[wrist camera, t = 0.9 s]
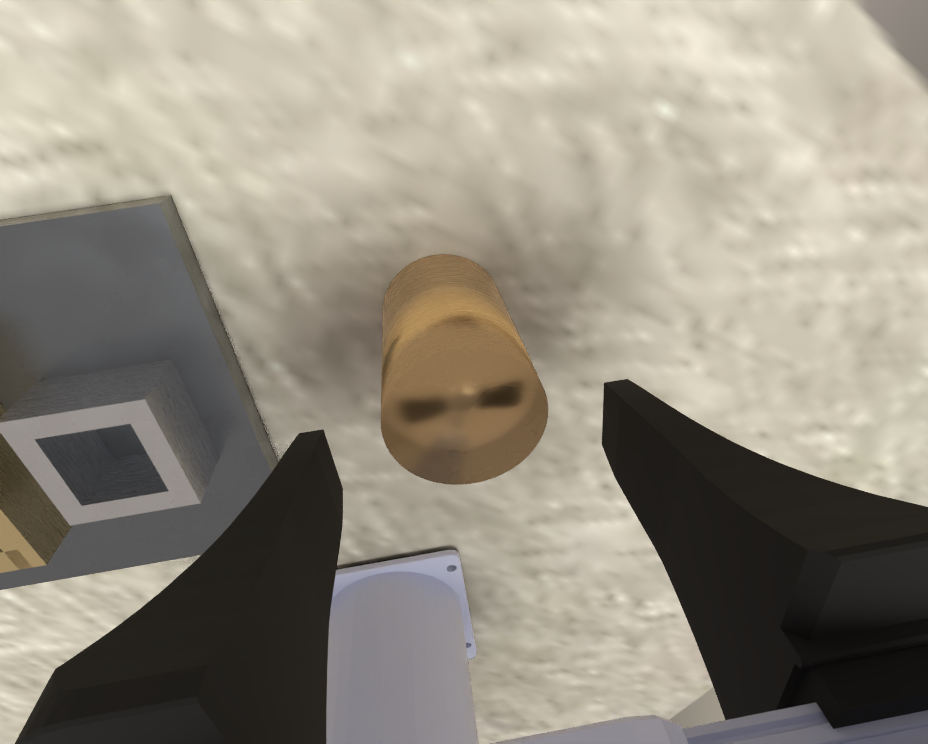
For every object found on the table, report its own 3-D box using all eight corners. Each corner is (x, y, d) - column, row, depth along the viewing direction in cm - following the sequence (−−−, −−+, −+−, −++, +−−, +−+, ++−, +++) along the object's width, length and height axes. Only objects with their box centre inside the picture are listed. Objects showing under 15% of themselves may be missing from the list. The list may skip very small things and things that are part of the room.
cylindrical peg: (504, 353, 21) (550, 469, 15) (394, 371, 21) (397, 495, 15) (495, 245, 19) (545, 335, 13) (371, 264, 19) (364, 364, 13)
